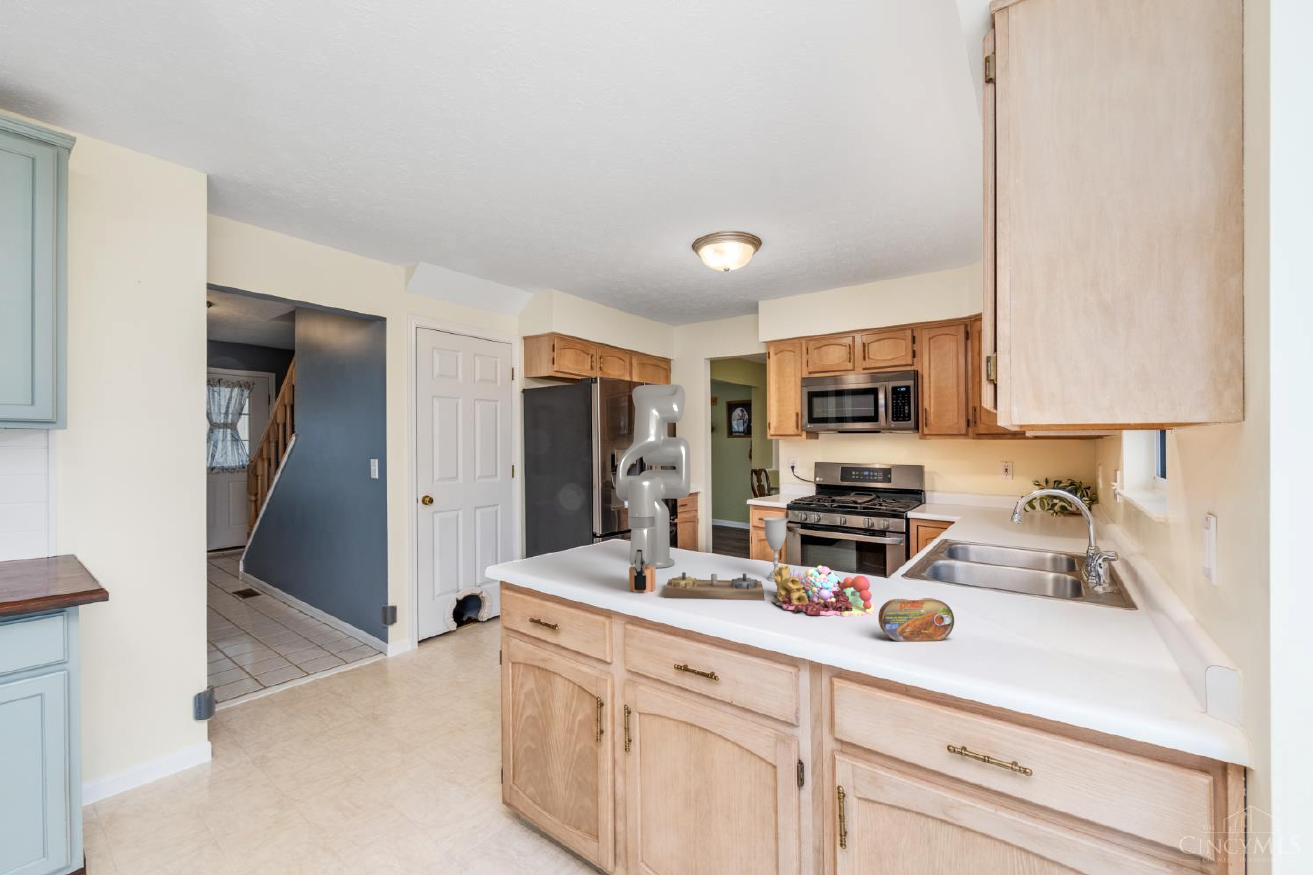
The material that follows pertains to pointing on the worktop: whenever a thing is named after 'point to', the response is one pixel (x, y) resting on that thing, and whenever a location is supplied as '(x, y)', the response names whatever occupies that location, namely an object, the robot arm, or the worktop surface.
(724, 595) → the gear board
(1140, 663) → the worktop surface
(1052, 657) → the worktop surface
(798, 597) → the coral reef model
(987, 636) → the worktop surface
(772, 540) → the chalice
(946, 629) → the tin
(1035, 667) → the worktop surface
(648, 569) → the gear
